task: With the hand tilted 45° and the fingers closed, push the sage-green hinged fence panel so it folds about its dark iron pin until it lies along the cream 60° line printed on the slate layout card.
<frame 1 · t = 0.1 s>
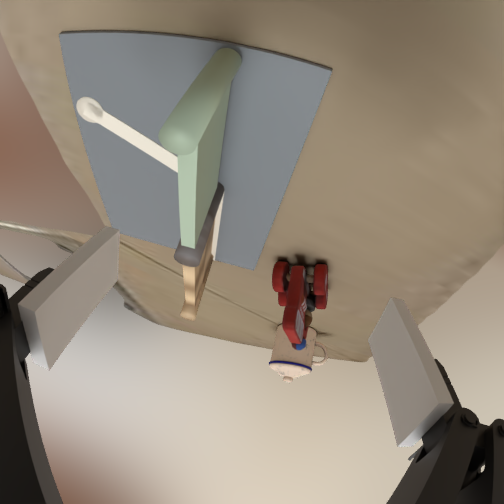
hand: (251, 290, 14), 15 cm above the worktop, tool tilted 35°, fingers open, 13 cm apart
fixed fence panel: (214, 184, 32), resting on layout card
teacup with lid: (304, 329, 67), on the worktop
toy fire truck: (304, 273, 45), on the worktop
hinged fence panel: (201, 163, 22), point 6 cm above the worktop, hinge at 0.0°
layout card: (177, 175, 32), on the worktop
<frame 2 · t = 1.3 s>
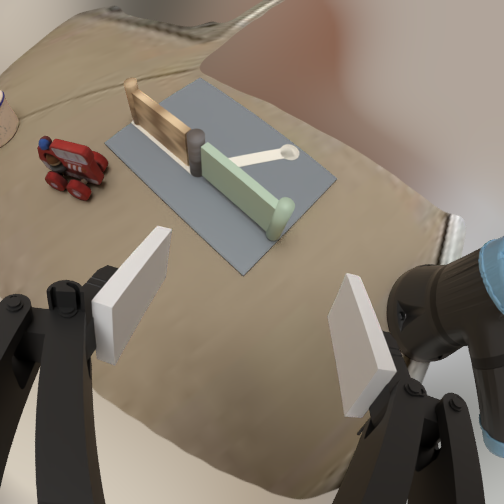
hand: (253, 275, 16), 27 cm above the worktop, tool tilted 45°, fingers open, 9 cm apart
fixed fence panel: (198, 172, 48), resting on layout card
toy fire truck: (79, 178, 45), on the worktop
hinged fence panel: (243, 189, 41), point 6 cm above the worktop, hinge at 0.0°
layout card: (216, 157, 49), on the worktop
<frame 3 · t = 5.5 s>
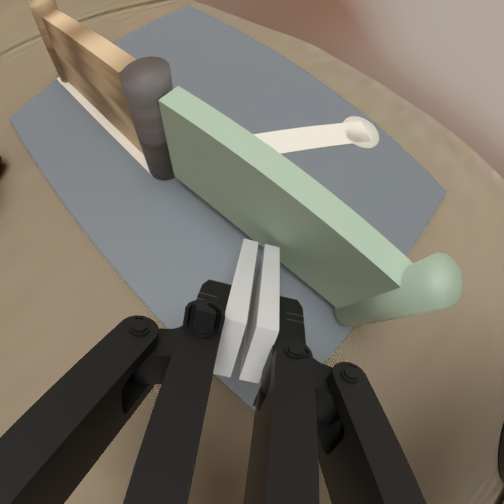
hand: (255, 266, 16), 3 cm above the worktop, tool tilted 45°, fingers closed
fixed fence panel: (166, 168, 21), resting on layout card
hinged fence panel: (285, 215, 15), point 5 cm above the worktop, hinge at 4.5°, touching gripper
layout card: (209, 135, 22), on the worktop
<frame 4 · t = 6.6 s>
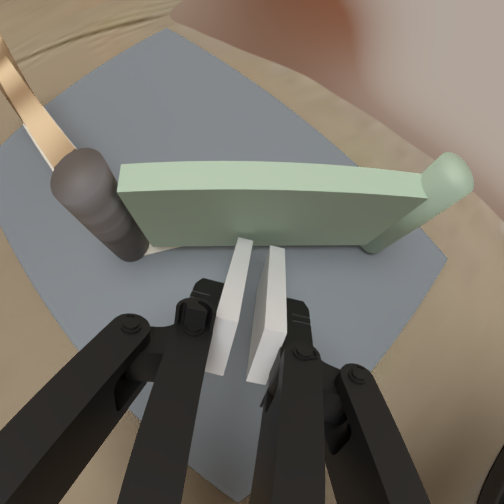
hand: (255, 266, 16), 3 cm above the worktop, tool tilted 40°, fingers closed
fixed fence panel: (132, 244, 19), resting on layout card
hinged fence panel: (293, 207, 15), point 6 cm above the worktop, hinge at 46.7°, touching gripper
layout card: (180, 202, 20), on the worktop
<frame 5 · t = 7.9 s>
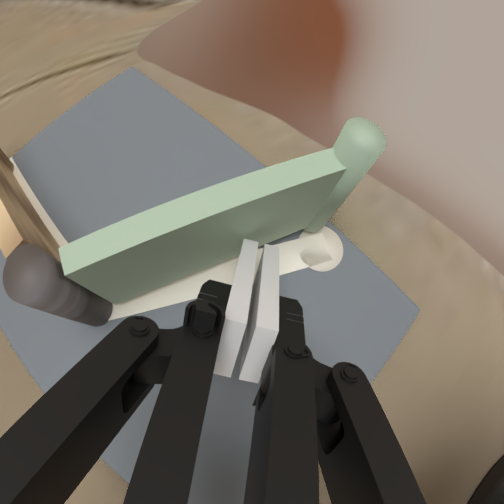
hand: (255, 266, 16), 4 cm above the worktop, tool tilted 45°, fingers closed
fixed fence panel: (98, 308, 19), resting on layout card
hinged fence panel: (226, 223, 15), point 5 cm above the worktop, hinge at 67.6°, touching gripper
layout card: (141, 266, 20), on the worktop
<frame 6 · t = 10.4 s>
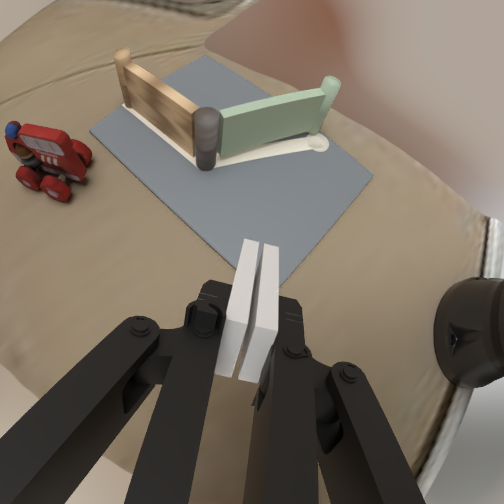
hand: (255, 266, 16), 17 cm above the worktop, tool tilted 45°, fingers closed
fixed fence panel: (205, 164, 37), resting on layout card
toy fire truck: (57, 174, 35), on the worktop
hinged fence panel: (278, 116, 34), point 6 cm above the worktop, hinge at 67.6°
layout card: (228, 146, 39), on the worktop
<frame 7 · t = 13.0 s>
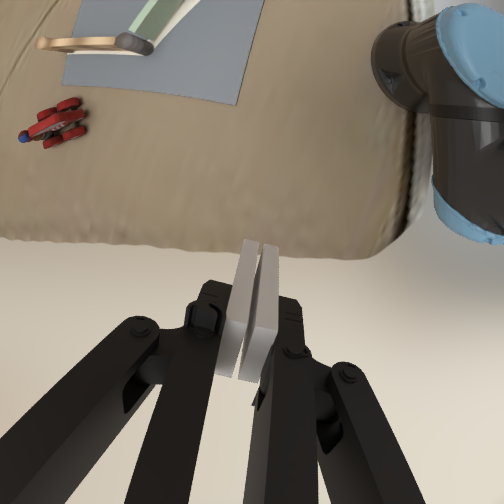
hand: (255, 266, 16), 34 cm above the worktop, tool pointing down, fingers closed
fixed fence panel: (148, 49, 41), resting on layout card
toy fire truck: (66, 122, 47), on the worktop
layout card: (153, 27, 39), on the worktop
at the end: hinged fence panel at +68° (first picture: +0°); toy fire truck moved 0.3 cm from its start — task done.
